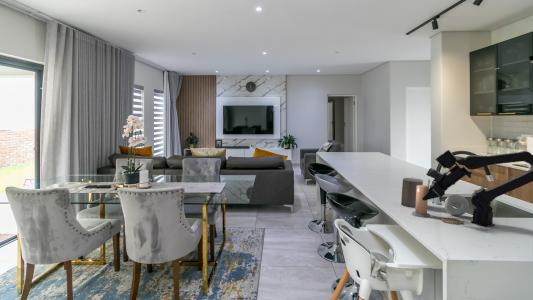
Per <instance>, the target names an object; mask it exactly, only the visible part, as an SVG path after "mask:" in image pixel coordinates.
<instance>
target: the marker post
mask: <svg viewBox="0 0 533 300" xmlns="http://www.w3.org/2000/svg"><path fill="white" fill-rule="evenodd" d="M429 189H430V186H428V185H417V189H416V206H415V208H414V211H415V213H416V214H418V215H427V213H428V203H429V202H428V201H429V200H424V201H423V200H422V198H423V197H424V196H425V195H426V194H427V193H428V190H429Z"/></svg>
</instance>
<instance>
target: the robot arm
mask: <svg viewBox="0 0 533 300" xmlns="http://www.w3.org/2000/svg"><path fill="white" fill-rule="evenodd" d="M434 160H435V161H436V162H437V163H438V164H439V165H440V166H441V167H443V169H448V171H446V172H444V173H441V172H440V171H438V170H436V169H434V168H432V167H430V168H429V169H428V171H427V172H426V176H427V177H430V178H432V179H433V180H432V181H431V184H430V185H429V188H428V193H427V194H426V195H425V196H424V197H423V198H422V200H423V201H424V200H428V201H429V200H433V199H436V198H441V197H443V196H445V194H446V191H448V189H449V188H450V187H452V186H455V185H456V183H458V182H459V181H460V180H462V179H463V178H465V176H467V177H468V178H469V179H471V178H472V173H473V172H472V171H474V170H477V169H481V168H485V167H487V166H492V165H500V164H509V163H510V164H511V163H518V162H525V163H527V164H529V165H530V166H532V167H531V168H530V169H528V170H527V171H526V172H524V173H522V174H519V175H517V176H515V177H513V178H511V179H508V180H506V181H504V182H502V183H500V184H497V185H495V186H493V187H490V188H485V186H482V187H480V188H479V189H475V190H474V192H473V193H472V194H471V196H470V201H471V204H472V205H473V206H474V207H475V208H474V207H473V211H472V220H470V223H472V224H475V225H478V226H481V227H492V226H493V227H494V226H495V223H493V222H494V221H493V219H494V211H493V209H494V208H493V205H492V202H493V201H494V200H495V199H497V198H498V197H500V196H502V195H505V194H507V193H510V192H512V191H513V190H516V189H519V188H521V187H524V186H526V185H528V184H530V183H533V154H532V152H530V151H527V150H521V151H517V152H516V151H515V152H509V153H500V154H493V155H481V154H479V155H478V154H477V155H476V154H475V155H474V154H472V155H469V154H468V155H467V156H465V157H458V158H457V157H456V156H455V155H454V154H453V153H452V152H451V151H450V150H449V149H447V150H446V151H444V152H443V153H441V154H440V155H438V156H437V157H436V158H435V159H434ZM471 170H472V171H471Z"/></svg>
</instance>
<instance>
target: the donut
mask: <svg viewBox="0 0 533 300" xmlns="http://www.w3.org/2000/svg"><path fill="white" fill-rule="evenodd" d="M454 203H459V205H460V206H459V207H458V208H457V207H454V206H453V204H454ZM443 205H444V209H445V211H446V212H447V213H448V214H450V215H452V216H456V217H458V216H462V215H465V214H466V213H467V212H468V211H469V207H470V206H469V201H468V200H467V198H466V197H465V196H463V195H460V194H451V195H449V196H447V198H446V199H445V200H444V203H443Z"/></svg>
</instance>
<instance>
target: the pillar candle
mask: <svg viewBox="0 0 533 300" xmlns="http://www.w3.org/2000/svg"><path fill="white" fill-rule="evenodd" d="M423 184H424V180H423V179H421V178H415V177H413V176H412V177H403V178H402V184H401V185H402V187H401V201H400V202H401V203H400V204H401V206H403V207H407V208H412V209H415V206H416V189H417V185H423Z"/></svg>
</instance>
